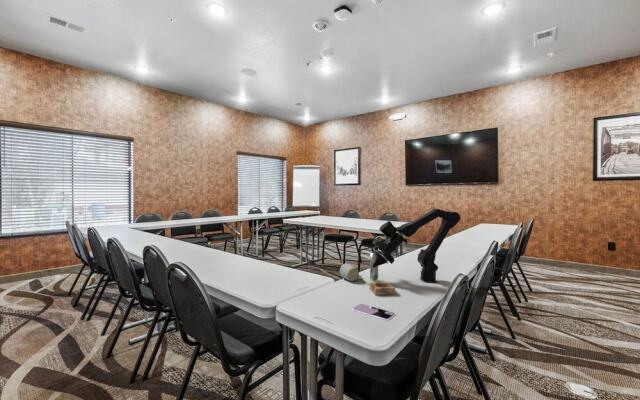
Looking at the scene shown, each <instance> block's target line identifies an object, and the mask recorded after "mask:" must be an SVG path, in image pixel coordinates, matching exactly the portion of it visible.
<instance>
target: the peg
mask: <svg viewBox="0 0 640 400" xmlns="http://www.w3.org/2000/svg"><path fill="white" fill-rule="evenodd" d="M369 258H370V259H369V278H370V279H372V280H377V279H378V277H379V266H377V267H374V268H373V267H372V265H373V264H374V263H375V261H376V260H377V259H378V253H375V252H374V251H373V252H370V256H369Z"/></svg>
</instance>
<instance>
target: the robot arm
mask: <svg viewBox="0 0 640 400" xmlns="http://www.w3.org/2000/svg"><path fill="white" fill-rule="evenodd" d="M437 218H440V219H441V222H440V223H441V225H440V226H439V227H438V230H437V231H436V233H435V234H434V236H433V238H432V239H431V240H430V243H429V244H428V246H427V247H426V248H425V249H423V248H421V249H420V251H419V253H418V254H417V262H418V264H419V265H420V267H421V271H420V277H419V279H420V280H421V281H422V282H424V283H438V280H436V279H437V271H438V270H439V266H438V265H437V264H436V263H435V261H436V256H437V255H436V254H437V252H438V250H439V248H440V247H441V245H442V243H443V242H444V240H445V239H446V237H447V235H448V233H450V231H451V229H453V228H454V227H456V226H457V224H458V223H459V222H460V221H461V218H462V217H461V215H460V213H459V212H457V211H452V210H448V211H446V210H442V209H440V208H432V210H430V211H429V212H427V213H425V214H424V215H422V216H420V217H418V218H417V219H415V220H413V221H410V222H406V223H403V224H401V225H400V226H397V227H396V226H394V224H392V222H391V221H389V220H388V221H387V222H384V224H382V225H381V226H380V227H379V229H378V230H379V231H380V232H381V233H382V235H384V236H385V237H386V238H389V239H388V240H384V239H382V238H380V239H378V238H376V237H374V239H373V241H372V244H373V245H374V246H373V248H372V249H373V250H374V251H373V252H375V253H378V259H377V260H376V261H375V263H374V264H373V265H372V267H373V268H374V267H377V266H378V267H379V266H382V265H385V264H388V263H390V264H391V265H392V264H393V263H394V262H395V258H394V256H392V254H393V253H394V252H397V251H398V250H397V249H398V248H399V247H400V246H401V245H402V244H406V245H408V243H409V242H408V238H410V237H412V236H413V235H415V234H416V233H417V232H418V230H419V229H421V228H422V227H424V226H425V225H427V224H429V223H430V222H431V221H434V220H435V219H437Z"/></svg>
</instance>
